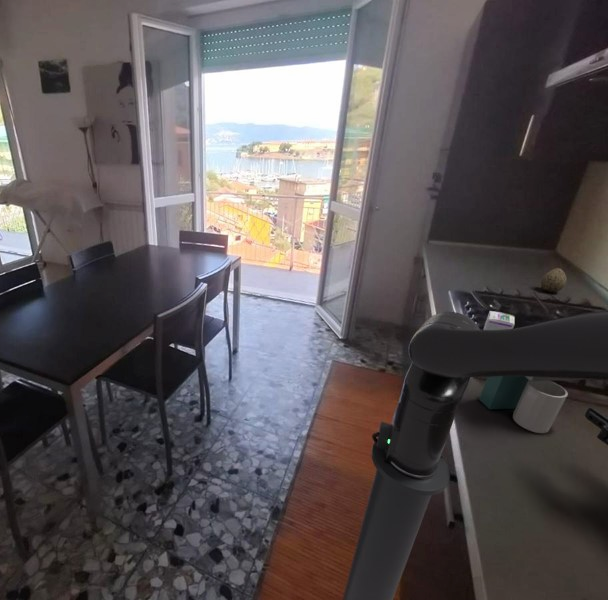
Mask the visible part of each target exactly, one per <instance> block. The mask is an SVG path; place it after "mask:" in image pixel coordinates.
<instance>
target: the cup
mask: <svg viewBox="0 0 608 600" xmlns="http://www.w3.org/2000/svg"><path fill="white" fill-rule="evenodd" d="M568 395H569V393H568V391H567V389H566V388H564V387H563V385H560V384H558V383H557V382H553V381H530V380H528V382H527V384H526V386H525V389H524V391H523V393H522V395H521V398H520V400H519V402H518V404H517V406H516V408H514V410H513V414H512V419H513V421H514V422H515V423H516V424H517V425H518V426H520V427H521V428H523V429H525V430H527V431H530V432H533V433H536V434H546V433H549V431H550V430H551V428H552V426H553V424H554V422H555V421H556V419H557V416H558V414H559V413H560V410H561V409H562V407H563V405H564V403H565V401H566V399H567V398H568Z"/></svg>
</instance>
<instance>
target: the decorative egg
mask: <svg viewBox="0 0 608 600" xmlns="http://www.w3.org/2000/svg"><path fill="white" fill-rule="evenodd" d="M566 285H567V275H566V273H565V271H564V270H563V269H562V268H560V267H556V268H553V269H551V270H550V271H547V272H546V273H545V274H544V275H543V276H542V278H541V280H540V287H541V289H543V290H544V291H545V292H547V293H557V292H559V291H561V290H562V289H564V287H566Z"/></svg>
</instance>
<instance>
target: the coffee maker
mask: <svg viewBox="0 0 608 600" xmlns="http://www.w3.org/2000/svg"><path fill="white" fill-rule="evenodd" d="M528 380H530V381H552V382H554V383H557V382H558V381H577V380H578V381H579V380H580V381H581V380H582V381H583V379H563V378H543V377H526V376H497V377H486V381H485V383H484V385H483V389H482V391H481V393H480V396H479V398H478V400H479V401H480V402H481V403H482V404H483V405H484V406H485V407H486V408H488V410H507V409H516V406H517V404H518V402H519V400H520V398H521V395H522V393H523V391H524V389H525V386H526V384H527V382H528Z"/></svg>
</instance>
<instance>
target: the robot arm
mask: <svg viewBox="0 0 608 600" xmlns="http://www.w3.org/2000/svg"><path fill="white" fill-rule="evenodd" d="M408 355H409V359H410V360H411V363H410V366H409V368H408V370H407V372H406V374H405V377H404V380H403V384H402V387H401V390H400V394H399V399H398V402H397V406H396V409H394V412H393V415H392V420H391V423H387V422H384V421H380V424H379V428H378V431H377V432H374V433H372V434H371V439H372V440H373V443H374V442H375V443H376V444H377V447H379V448H382V449H385V460H384V462H385V463H387V464H390V465H391V466H392V467H393V468H394V469H395V470H397V471H398V472H399V473H401V474H403V475H405V476H407V477H410V478H413V479H418V480H425V479H429V478H431V477H433V476H434V474H435V473H436V470H437V466H438V462H439V460H440V457H441V456H442V454H443V452H444V448H445V446H446V442H447V440H448V437H449V434H450V432H451V429H452V426H453V424H454V421H455V418H456V415H457V412H458V410H459V407H460V405H461V402H462V399H463V397H464V394H465V392H466V390H467V387H468V385H469V383H470V380H471V378H488V377H497V376H526V377H543V378H563V379H582V380H587V381H588V380H589V381H590V380H591V381H605V382H608V310H598V311H590V312H583V313H579V314H573V315H567V316H564V317H559V318H556V319H550V320H548V321H543V322H539V323H535V324H530V325H526V326H522V327H520V326H519V327H515V328H514V327H513V329H505V330H483V329H480V327H479V325H478V324H477V323H476V322H475V321H474V319H472V318H470V317H469V316H467V315H465V314H463V313H460V312H456V311H442V312H439V313H436V314H434V315H432V316H430V317H429V318H427V320H425V322H423V324H422V325H421V326H420V327H419V328H418V330H417V331H416V332H415V333H414V335H413V336H412V338H411V339H410V342H409V344H408ZM584 417H585V419H586V420H588V421H589V422H590V423H592V424H593V425H595V426H596V427H597V428H599V429H600V431H599V433H598V434H597V436H596V438H597V439H598V440H599V441H601V442H602V443H604V444H605V445H606V446H608V415H606V414H604V413H603V412H602V411H600V410H598V409H597V408H596V407H589V408H587V410H586V412H585V414H584Z"/></svg>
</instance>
